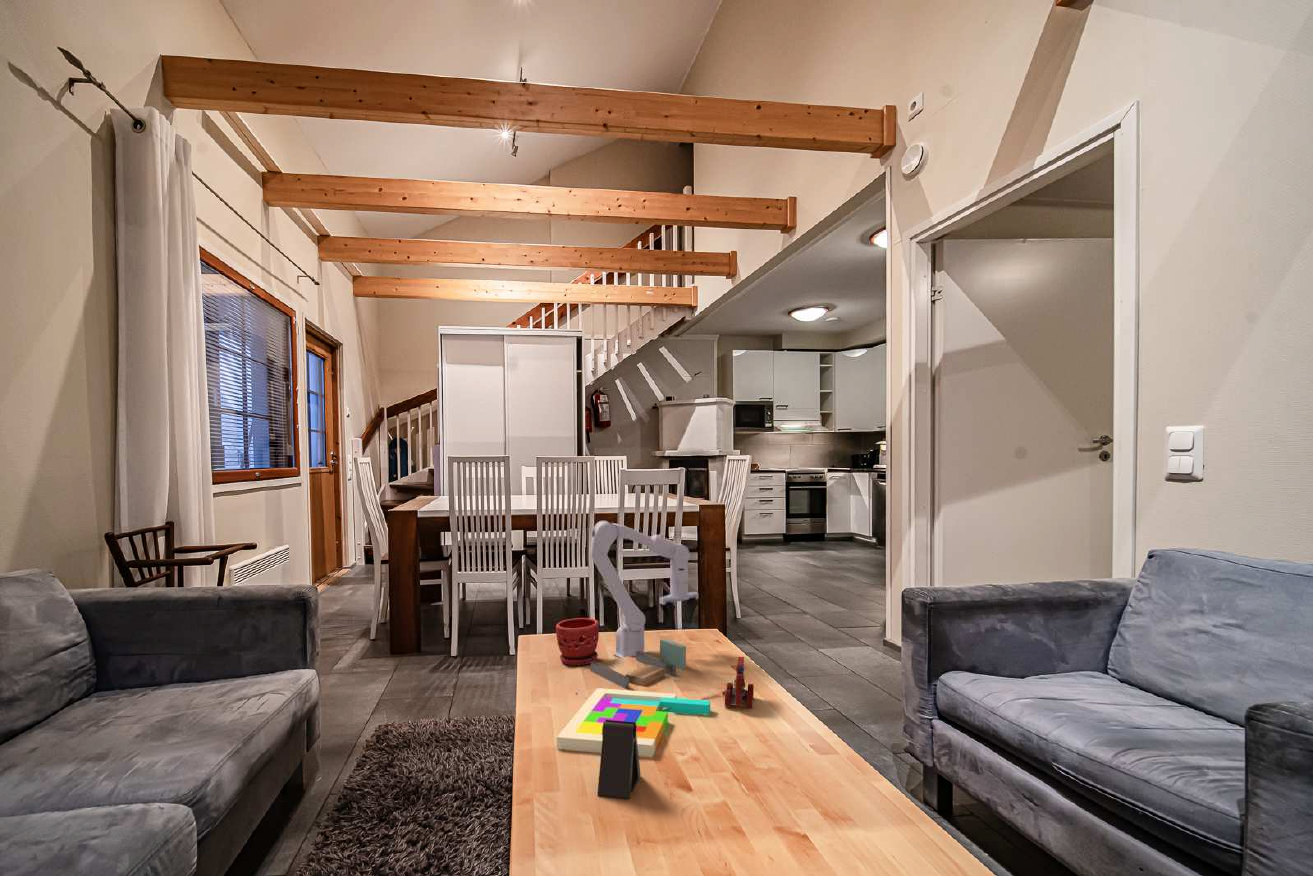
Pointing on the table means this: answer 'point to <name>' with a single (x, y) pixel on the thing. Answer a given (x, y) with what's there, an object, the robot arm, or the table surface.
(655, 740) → the puzzle game
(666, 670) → the rack
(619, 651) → the robot arm
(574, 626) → the plant pot
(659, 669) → the offcut upper
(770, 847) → the table surface
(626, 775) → the phone stand
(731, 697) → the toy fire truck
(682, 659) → the teal board
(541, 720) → the table surface
